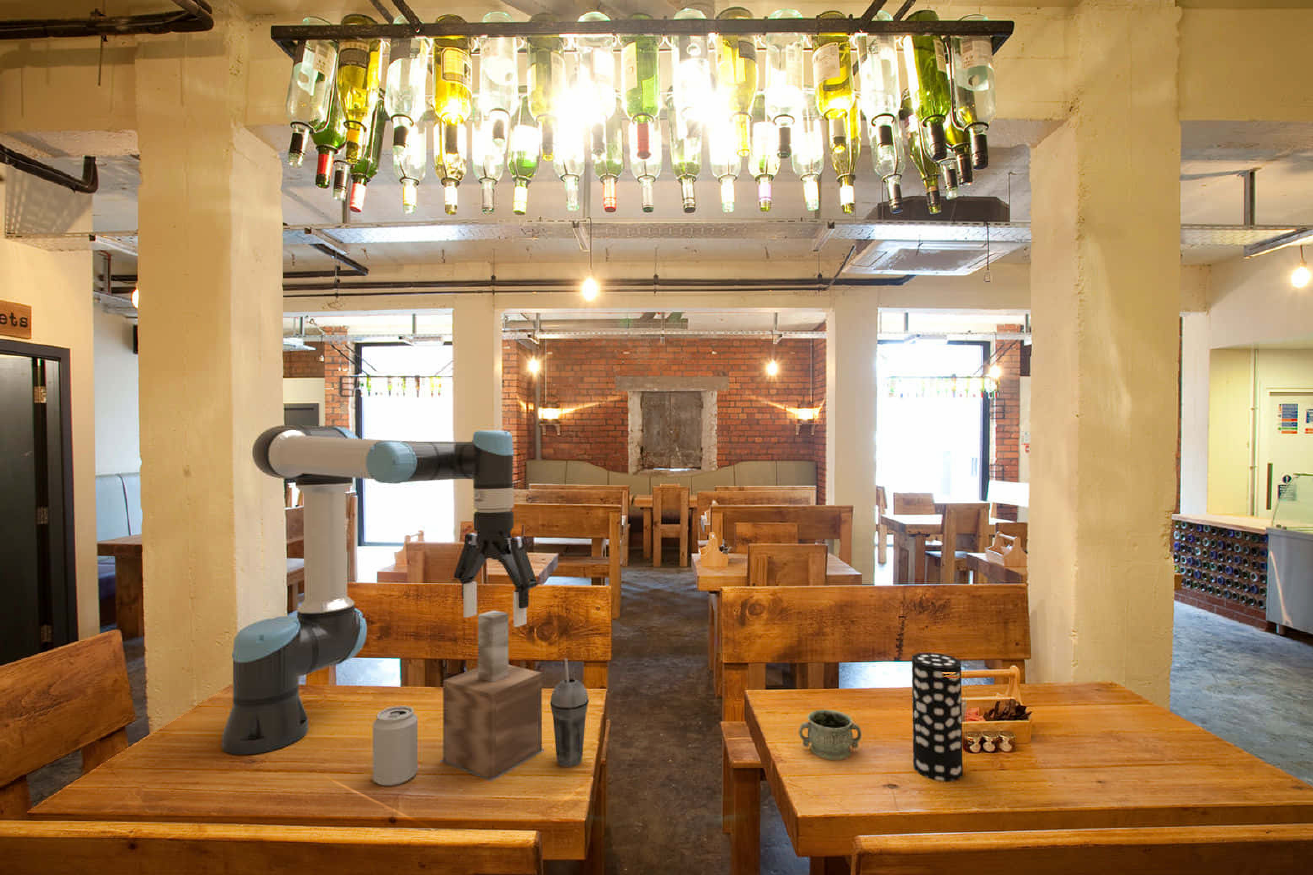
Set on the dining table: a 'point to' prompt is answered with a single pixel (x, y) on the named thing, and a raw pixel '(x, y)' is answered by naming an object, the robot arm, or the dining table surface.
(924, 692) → the white-spotted black cylinder
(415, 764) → the can
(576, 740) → the beverage cup
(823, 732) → the vessel
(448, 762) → the mat
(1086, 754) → the dining table surface
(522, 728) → the wooden block with peg
